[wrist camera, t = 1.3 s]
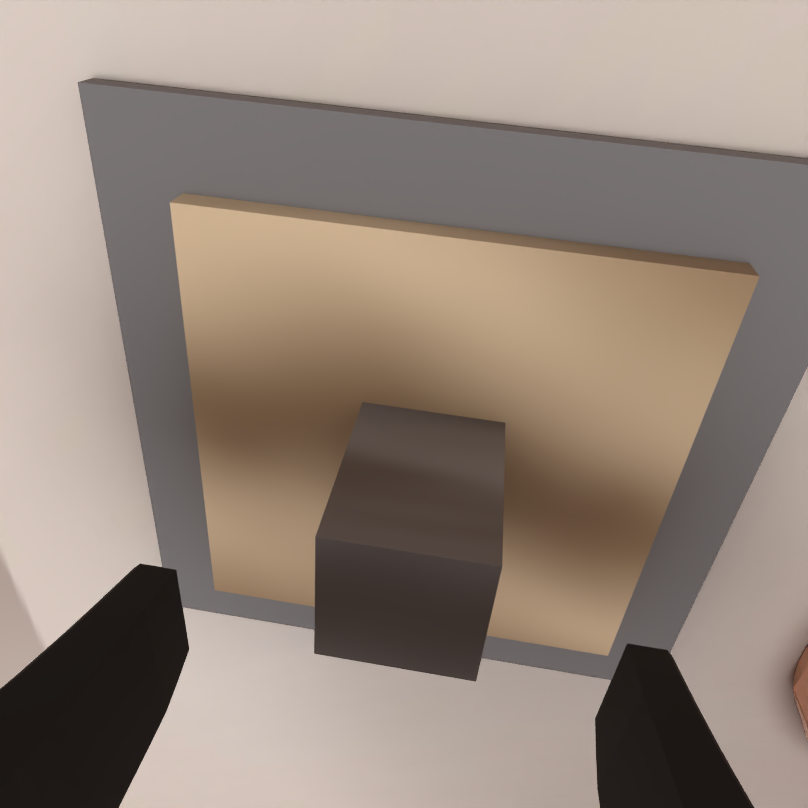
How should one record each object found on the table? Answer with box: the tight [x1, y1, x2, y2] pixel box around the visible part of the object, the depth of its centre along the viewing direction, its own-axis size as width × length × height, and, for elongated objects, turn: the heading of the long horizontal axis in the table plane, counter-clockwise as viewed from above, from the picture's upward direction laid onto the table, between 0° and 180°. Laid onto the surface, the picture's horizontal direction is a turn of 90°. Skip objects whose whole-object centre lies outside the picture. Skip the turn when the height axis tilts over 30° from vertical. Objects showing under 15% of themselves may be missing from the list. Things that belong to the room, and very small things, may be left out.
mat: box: [78, 78, 808, 680], centre depth 15 cm, size 14×14×1 cm
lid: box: [170, 193, 760, 681], centre depth 13 cm, size 10×10×5 cm
